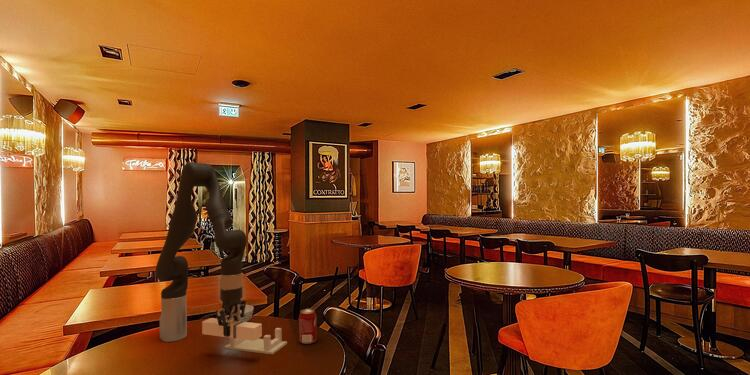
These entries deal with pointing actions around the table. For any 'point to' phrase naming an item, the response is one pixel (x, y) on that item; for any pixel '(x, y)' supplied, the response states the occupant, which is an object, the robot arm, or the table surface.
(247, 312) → the chinaware
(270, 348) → the cream footed plank
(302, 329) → the soda can
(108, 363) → the table surface
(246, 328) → the beige bar
